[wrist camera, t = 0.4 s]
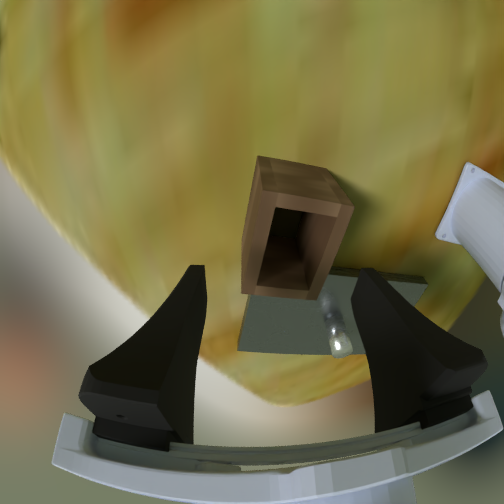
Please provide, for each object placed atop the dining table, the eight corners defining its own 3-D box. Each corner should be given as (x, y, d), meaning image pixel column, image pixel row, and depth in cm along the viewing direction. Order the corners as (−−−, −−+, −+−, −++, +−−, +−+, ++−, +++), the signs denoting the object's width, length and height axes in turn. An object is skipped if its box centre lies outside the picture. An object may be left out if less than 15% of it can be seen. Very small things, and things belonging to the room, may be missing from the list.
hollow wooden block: (326, 168, 19) (354, 207, 14) (302, 248, 23) (316, 300, 18) (257, 155, 18) (262, 190, 13) (241, 240, 22) (241, 293, 18)
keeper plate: (423, 277, 26) (444, 310, 21) (376, 346, 32) (386, 378, 28) (257, 257, 23) (259, 300, 19) (237, 342, 30) (237, 380, 26)
